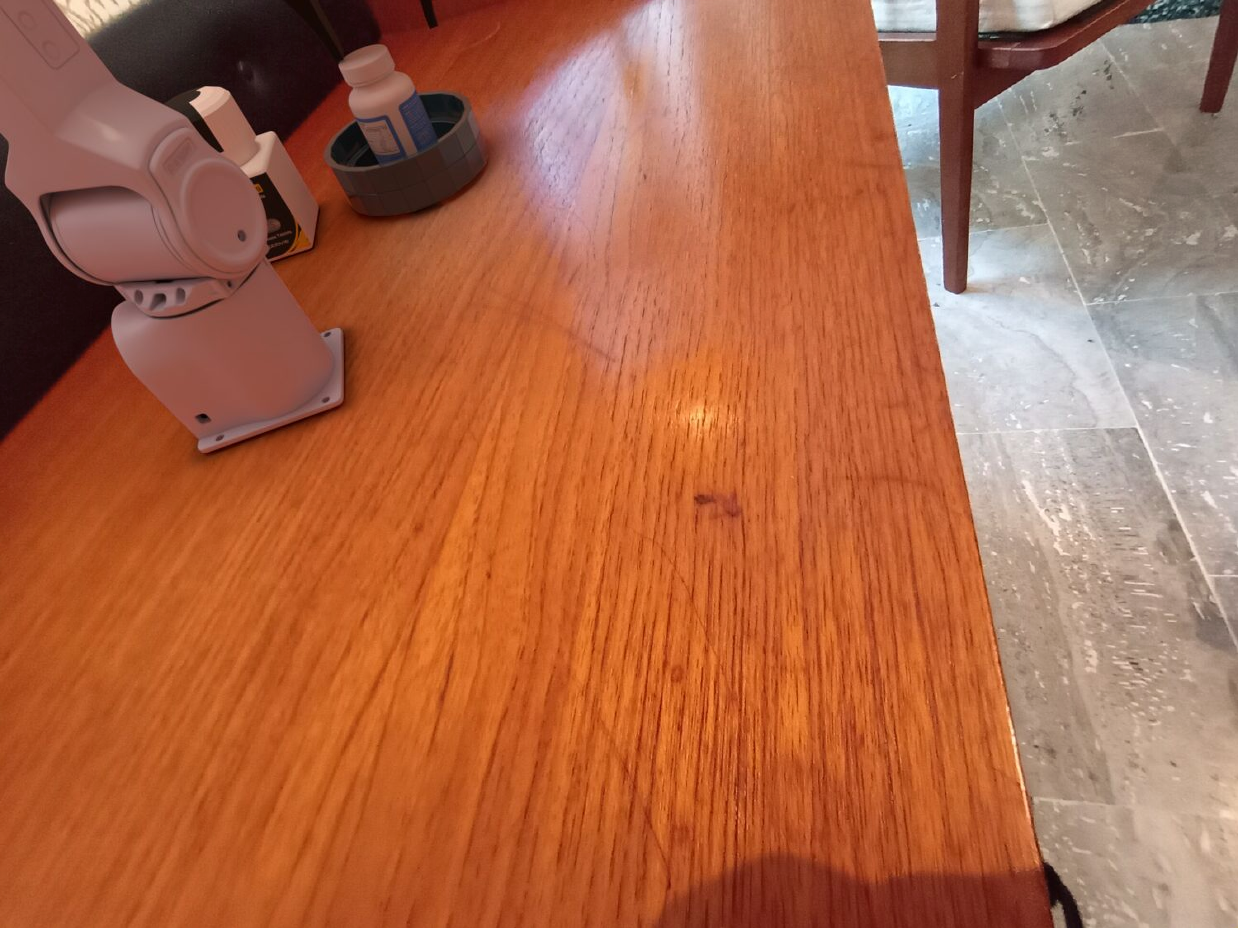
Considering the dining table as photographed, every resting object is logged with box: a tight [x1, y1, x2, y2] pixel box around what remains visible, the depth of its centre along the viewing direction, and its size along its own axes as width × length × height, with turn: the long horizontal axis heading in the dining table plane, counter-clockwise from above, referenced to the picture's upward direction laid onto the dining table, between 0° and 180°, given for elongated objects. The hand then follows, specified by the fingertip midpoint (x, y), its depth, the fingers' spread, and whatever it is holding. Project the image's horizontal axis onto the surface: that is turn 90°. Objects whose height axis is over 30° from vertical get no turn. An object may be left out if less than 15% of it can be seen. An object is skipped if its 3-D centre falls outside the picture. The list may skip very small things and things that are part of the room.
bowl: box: [323, 89, 490, 217], centre depth 62 cm, size 13×13×4 cm
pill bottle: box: [338, 43, 438, 164], centre depth 60 cm, size 6×5×10 cm
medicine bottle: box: [162, 85, 320, 263], centre depth 58 cm, size 7×7×12 cm
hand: (386, 40), depth 57 cm, fingers open, 7 cm apart
